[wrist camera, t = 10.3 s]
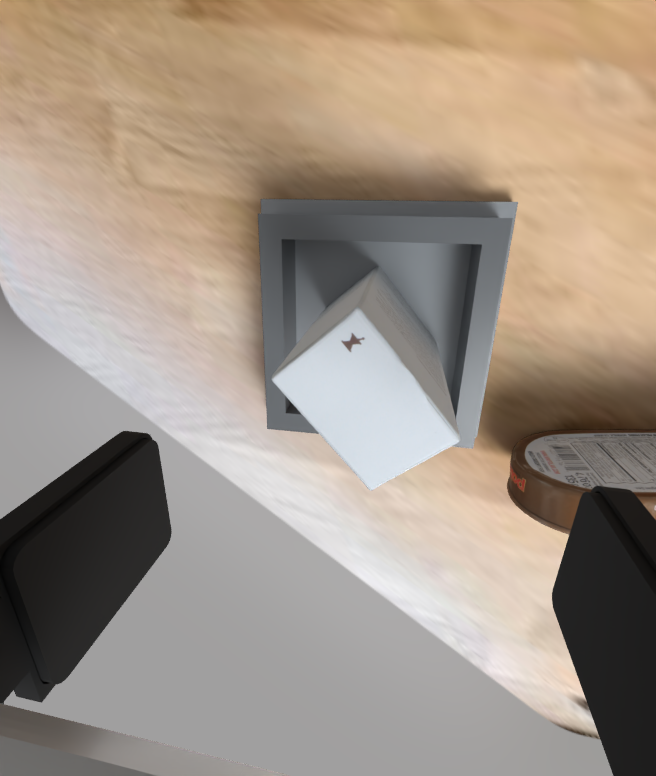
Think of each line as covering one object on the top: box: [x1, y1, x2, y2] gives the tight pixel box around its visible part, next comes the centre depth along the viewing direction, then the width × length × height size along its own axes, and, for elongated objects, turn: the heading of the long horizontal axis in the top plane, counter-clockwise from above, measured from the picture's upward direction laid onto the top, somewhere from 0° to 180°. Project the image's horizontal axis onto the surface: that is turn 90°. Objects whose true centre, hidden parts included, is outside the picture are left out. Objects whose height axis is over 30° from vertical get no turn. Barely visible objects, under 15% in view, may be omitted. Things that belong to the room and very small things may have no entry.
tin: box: [507, 430, 656, 535], centre depth 23 cm, size 15×3×8 cm, turn 95°
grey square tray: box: [258, 199, 518, 449], centre depth 24 cm, size 14×14×4 cm
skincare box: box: [272, 266, 460, 490], centre depth 20 cm, size 6×4×12 cm
